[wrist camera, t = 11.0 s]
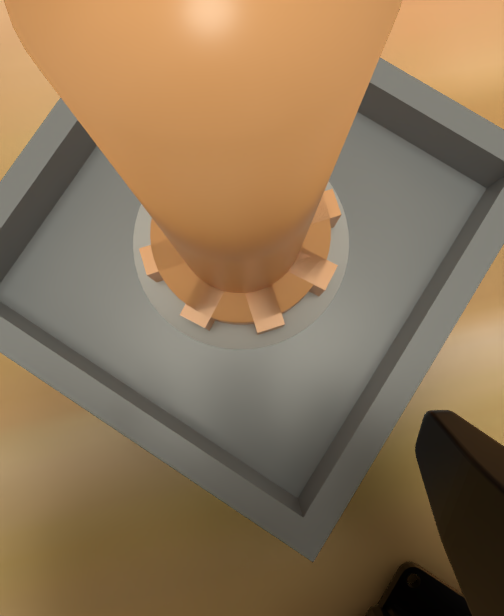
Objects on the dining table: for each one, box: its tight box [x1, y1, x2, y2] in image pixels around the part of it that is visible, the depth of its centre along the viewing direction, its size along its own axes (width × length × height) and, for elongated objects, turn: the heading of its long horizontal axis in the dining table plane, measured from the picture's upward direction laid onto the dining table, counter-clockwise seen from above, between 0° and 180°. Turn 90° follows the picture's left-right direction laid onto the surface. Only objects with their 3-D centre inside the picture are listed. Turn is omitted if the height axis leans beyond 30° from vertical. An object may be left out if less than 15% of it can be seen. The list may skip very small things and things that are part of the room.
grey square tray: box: [0, 58, 504, 562], centre depth 17 cm, size 16×16×3 cm
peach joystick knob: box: [4, 0, 402, 335], centre depth 11 cm, size 7×7×13 cm
